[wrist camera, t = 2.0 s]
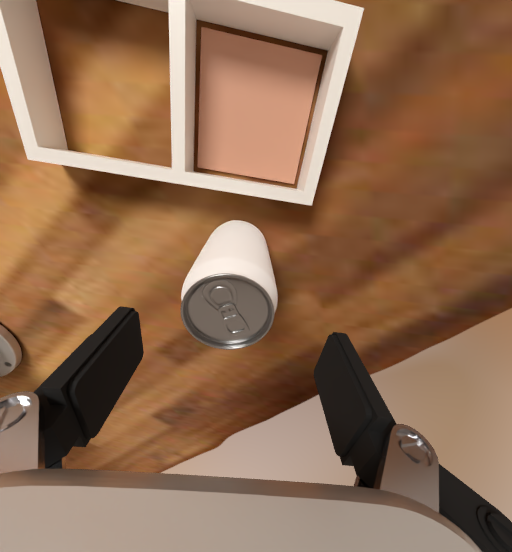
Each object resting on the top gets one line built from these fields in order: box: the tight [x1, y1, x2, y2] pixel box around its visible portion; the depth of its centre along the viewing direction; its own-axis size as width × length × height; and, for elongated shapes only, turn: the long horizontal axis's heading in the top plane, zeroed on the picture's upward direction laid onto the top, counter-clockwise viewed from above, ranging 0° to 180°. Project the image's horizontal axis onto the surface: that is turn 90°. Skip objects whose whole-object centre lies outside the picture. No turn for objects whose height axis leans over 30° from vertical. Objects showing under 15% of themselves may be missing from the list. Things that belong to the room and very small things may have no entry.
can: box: [181, 220, 278, 349], centre depth 18 cm, size 6×6×12 cm
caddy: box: [0, 0, 364, 206], centre depth 16 cm, size 12×23×3 cm, turn 81°
